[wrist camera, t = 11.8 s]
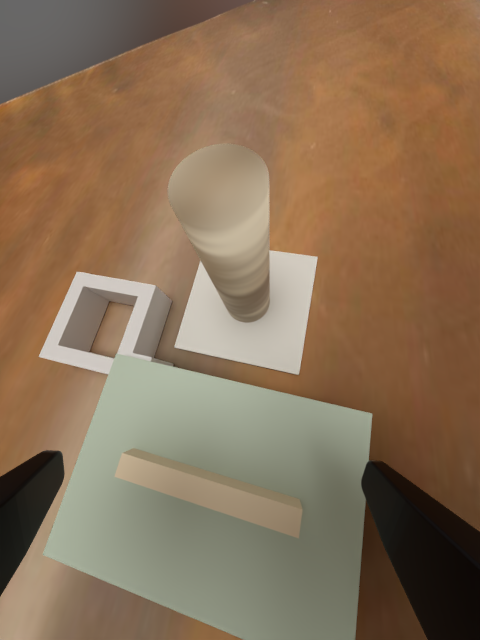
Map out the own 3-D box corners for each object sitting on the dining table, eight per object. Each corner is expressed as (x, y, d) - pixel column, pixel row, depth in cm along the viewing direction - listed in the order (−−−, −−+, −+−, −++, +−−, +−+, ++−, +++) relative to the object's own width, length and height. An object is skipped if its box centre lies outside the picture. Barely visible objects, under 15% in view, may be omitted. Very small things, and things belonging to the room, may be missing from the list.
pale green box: (351, 334, 20) (389, 309, 14) (324, 591, 16) (361, 720, 9) (103, 288, 24) (47, 253, 18) (24, 481, 20) (-87, 522, 13)
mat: (317, 258, 22) (317, 257, 22) (298, 375, 20) (298, 374, 19) (207, 243, 24) (206, 241, 24) (175, 347, 21) (174, 347, 21)
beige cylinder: (278, 294, 21) (288, 163, 9) (254, 330, 21) (231, 243, 8) (241, 274, 22) (205, 131, 10) (217, 308, 22) (147, 201, 9)
